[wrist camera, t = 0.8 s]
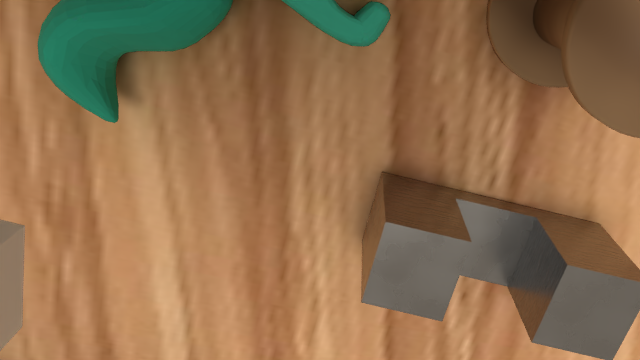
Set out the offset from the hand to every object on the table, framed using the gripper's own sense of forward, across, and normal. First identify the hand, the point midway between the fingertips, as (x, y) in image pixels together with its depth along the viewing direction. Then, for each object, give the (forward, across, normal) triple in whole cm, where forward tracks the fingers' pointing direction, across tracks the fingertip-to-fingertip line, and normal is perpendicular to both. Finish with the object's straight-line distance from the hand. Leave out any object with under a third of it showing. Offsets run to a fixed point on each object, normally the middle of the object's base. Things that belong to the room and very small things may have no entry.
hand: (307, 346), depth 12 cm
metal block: (+22, +10, -6) cm, 25 cm away
